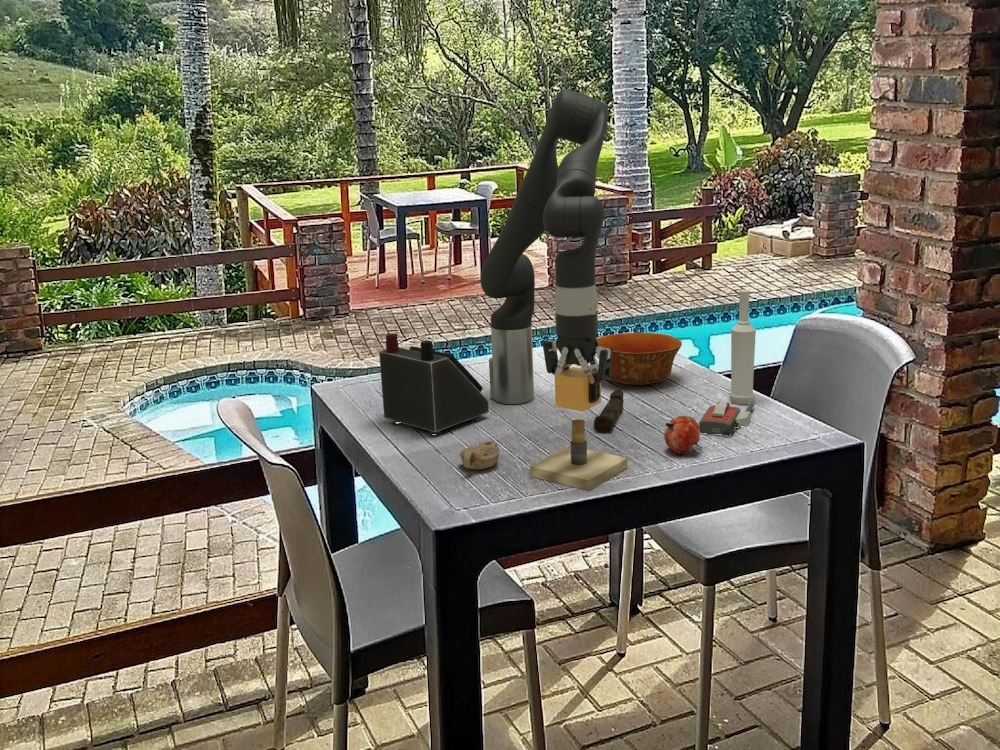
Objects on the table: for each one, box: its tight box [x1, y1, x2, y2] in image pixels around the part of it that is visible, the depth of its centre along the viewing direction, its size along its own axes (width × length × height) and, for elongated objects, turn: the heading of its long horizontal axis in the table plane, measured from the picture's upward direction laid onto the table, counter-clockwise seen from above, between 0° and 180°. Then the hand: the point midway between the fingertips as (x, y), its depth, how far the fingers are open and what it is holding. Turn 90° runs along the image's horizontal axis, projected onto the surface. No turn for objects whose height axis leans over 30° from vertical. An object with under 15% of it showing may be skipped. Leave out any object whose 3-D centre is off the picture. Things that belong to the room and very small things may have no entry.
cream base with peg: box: [529, 418, 628, 491], centre depth 195 cm, size 13×13×10 cm
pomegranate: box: [663, 415, 703, 455], centre depth 204 cm, size 7×7×10 cm
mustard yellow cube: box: [554, 366, 602, 412], centre depth 192 cm, size 6×6×6 cm
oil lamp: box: [459, 441, 500, 471], centre depth 201 cm, size 13×8×5 cm, turn 157°
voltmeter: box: [378, 333, 490, 435], centre depth 226 cm, size 16×16×20 cm
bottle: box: [729, 289, 757, 405], centre depth 229 cm, size 5×5×25 cm
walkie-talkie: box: [698, 401, 755, 436], centre depth 220 cm, size 9×4×20 cm
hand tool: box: [593, 388, 624, 434], centre depth 225 cm, size 19×4×5 cm, turn 160°
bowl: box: [595, 332, 683, 386], centre depth 250 cm, size 21×21×10 cm
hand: (578, 398), depth 192 cm, fingers closed on mustard yellow cube, 6 cm apart
